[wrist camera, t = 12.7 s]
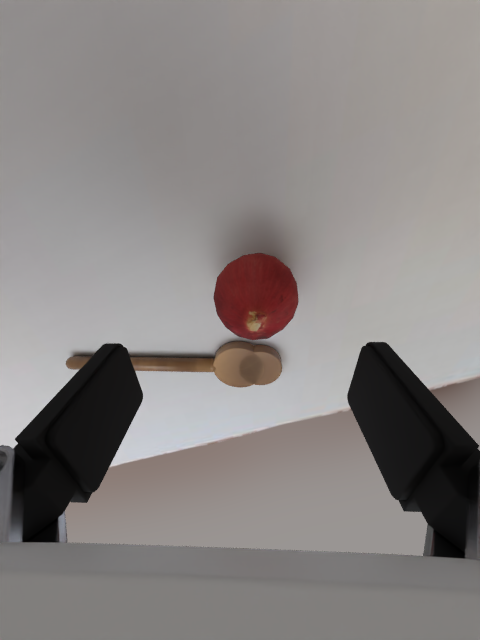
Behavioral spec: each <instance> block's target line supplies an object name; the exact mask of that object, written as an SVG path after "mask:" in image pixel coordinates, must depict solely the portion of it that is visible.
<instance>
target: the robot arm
mask: <svg viewBox="0 0 480 640" xmlns="http://www.w3.org/2000/svg"><path fill="white" fill-rule="evenodd" d="M347 398H348V403H349V405H350V407H351V409H352V411H353V414H354V416H355V418H356V420H357V422H358V424H359V426H360V429H361V431H362V433H363V435H364V437H365V439H366V441H367V443H368V445H369V448H370V450H371V452H372V454H373V456H374V458H375V461H376V463H377V465H378V467H379V469H380V471H381V473H382V476H383V478H384V480H385V482H386V484H387V486H388V489H389V491H390V493H391V495H392V496H393V497H394V498H395V499H396V500H399V502H400V504H401V506H402V508H403V510H404V511H413V512H422V514H423V516H424V518H425V519H426V521H427V523H428V526H427V534H426V540H425V546H424V553H423V556H413V555H397V554H376V553H351V552H327V551H302V550H277V549H249V548H221V547H191V546H190V547H189V546H162V545H128V544H97V543H96V544H95V543H67V531H66V519H65V509H66V507H67V506H68V504H69V502H82V503H87V502H88V500H89V498H90V496H91V494H92V492H95V491H96V490H97V489H98V488H99V486H100V484H101V482H102V480H103V478H104V476H105V474H106V472H107V470H108V468H109V466H110V464H111V462H112V460H113V458H114V456H115V454H116V452H117V450H118V448H119V446H120V444H121V442H122V440H123V438H124V436H125V434H126V432H127V430H128V428H129V426H130V424H131V422H132V420H133V418H134V416H135V414H136V412H137V410H138V408H139V406H140V404H141V402H142V399H143V393H142V390H141V387H140V384H139V381H138V379H137V376H136V373H135V370H134V367H133V365H132V362H131V359H130V356H129V353H128V350H127V348H125V347H123V345H121V344H104V345H103V346H102V347H101V348H100V349H99V350H98V351H97V352H96V353H95V354H94V355H93V356H92V357H91V358H90V359H89V360H88V361H87V363H86V364H85V365H84V366H83V367H82V368H81V369H80V370H79V371H78V372H77V373H76V374H75V375H74V376H73V377H72V379H71V380H70V381H69V382H68V383H67V384H66V385H65V386H64V387H63V388H62V389H61V390H60V391H59V392H58V393H57V395H56V396H55V397H54V398H53V399H52V400H51V401H50V402H49V403H48V404H47V405H46V406H45V407H44V408H43V410H42V411H41V412H40V413H39V414H38V415H37V416H36V417H35V418H34V419H33V420H32V421H31V422H30V423H29V424H28V426H27V427H26V428H25V429H24V430H23V431H22V432H21V433H20V434H19V435H18V436H17V437H16V438H15V440H16V441H17V442H18V444H17V445H16V446H15V448H14V449H12V448H11V447H10V446H4V445H2V446H0V640H480V451H479V450H478V449H477V448H478V447H479V445H478V444H477V443H476V442H475V441H474V440H473V438H472V437H471V436H470V435H469V434H468V433H467V432H466V431H465V430H464V429H463V427H462V426H461V425H460V424H459V423H458V422H457V421H456V420H455V419H454V418H453V416H452V415H451V414H450V413H449V412H448V411H447V410H446V408H444V406H443V405H442V404H441V403H440V402H439V401H438V400H437V398H436V397H435V396H434V395H433V394H432V393H431V392H430V391H429V389H428V388H427V387H426V386H425V385H424V384H423V383H422V382H421V381H420V379H419V378H418V377H417V376H416V375H415V374H414V373H413V372H412V371H411V369H410V368H409V367H408V366H407V365H406V364H405V363H404V362H403V361H402V359H401V358H400V357H399V356H398V355H397V354H396V353H395V352H394V351H393V349H392V348H391V347H390V346H389V345H388V344H387V343H385V342H369V343H367V344H366V346H363V347H362V349H361V352H360V355H359V358H358V362H357V365H356V368H355V371H354V375H353V378H352V381H351V385H350V388H349V391H348V397H347Z"/></svg>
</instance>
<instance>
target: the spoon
mask: <svg viewBox="0 0 480 640" xmlns="http://www.w3.org/2000/svg"><path fill="white" fill-rule="evenodd" d="M91 357H92V356H73V357H70V358H68V360H67V361H66V366H67V367H68V368H69V369H76V370H80V369H81V368H82V367H83V366H84V365H85V364H86V363H87V361H88V360H89V359H90V358H91ZM130 359H131V362H132V365H133V367H134V370H135V371H178V372H214V373H215V375H216V376H217V378H218V379H219V380H220V381H222V382H223V383H225V384H227V385H230V386H233V387H247V386H251V385H253V384H255V385H265V384H269V383H272V382H273V381H275V380H276V379H277V378H278V377H279V376H280V374H281V372H282V364H281V358H280V356H279V354H278V352H277V351H276V350H274V349H273V348H271V347H269V346H266V345H252V344H250V343H247V342H243V341H234V342H229V343H227V344H225V345H223V346H222V347H220V348H219V350H218V351H217V353H216V355H215V359H214V358H159V357H130Z"/></svg>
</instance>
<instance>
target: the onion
mask: <svg viewBox="0 0 480 640" xmlns="http://www.w3.org/2000/svg"><path fill="white" fill-rule="evenodd" d="M214 302H215V306H216V311H217V314H218V316H219V318H220V319H221V321H222V322H223V324H224V325H225V327H226V328H228V329H229V330H230V331H232V332H233V333H234V334H236V335H237V336H239V337H243V338H246V339H250V340H258V339H267V338H270V337H271V336H273V335H274V334H276V333H277V332H279V331H281V330H283V329H284V327H285V326H286V325H287V324H288V323H289V322H290V321H291V319H292V318H293V316H294V313H295V311H296V308H297V305H298V291H297V283H296V281H295V279H294V277H293V274H292V272H291V270H290V269H289V268H288V267H287V266H286V265H284V264H283V263H282V262H281V261H280V260H278V259H277V258H276V257H274V256H270V255H266V254H262V253H255V254H248V255H243V256H241V257H239V258H238V259H236V260H234V261H232V262H231V263H229V264H228V265H227V266H226V267H225V268H224V270H223V271H222V272H221V274H220V275H219V276H218V277H217V282H216V287H215V292H214Z"/></svg>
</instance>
